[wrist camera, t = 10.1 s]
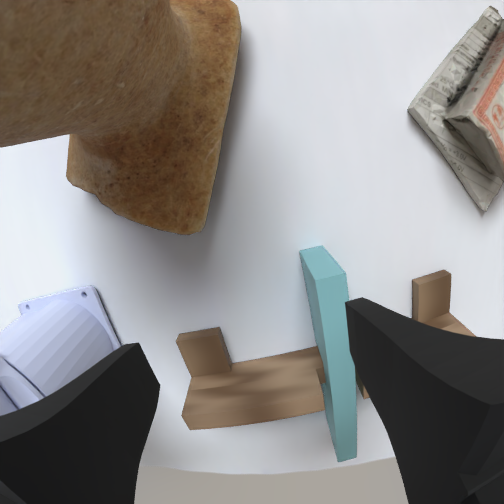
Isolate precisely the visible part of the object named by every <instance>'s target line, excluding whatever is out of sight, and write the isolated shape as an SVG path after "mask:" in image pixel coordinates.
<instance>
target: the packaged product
mask: <svg viewBox="0 0 504 504" xmlns="http://www.w3.org/2000/svg"><path fill="white" fill-rule="evenodd" d="M407 110H408V112H409V113H410V114H411V116H412V117H413V118H414V119H415V120H416V121H417V123H418V124H419V125H420V126H421V127H422V129H423V130H424V131H425V132H426V134H427V135H428V136H429V137H430V139H431V140H432V141H433V142H434V144H435V145H436V146H437V147H438V149H439V150H440V152H441V153H442V154H443V156H444V157H445V159H446V160H447V162H448V163H449V164H450V166H451V167H452V169H453V170H454V172H455V173H456V175H457V176H458V178H459V179H460V181H461V182H462V184H463V185H464V187H465V189H466V190H467V192H468V193H469V195H470V196H471V197H472V199H473V200H474V201H475V203H476V204H477V205H478V207H479V208H480V209H482V210H484V211H487V209H488V206H489V204H490V203H491V201H492V199H493V198H494V196H496V195H497V193H498V191H499V189H500V188H501V186H502V184H503V182H504V19H502V17H501V16H500V15H499V13H498V10H496V9H495V8H494V7H492V6H489V7H488V8H487V9H486V10H485V11H484V12H483V14H482V15H481V17H480V18H479V20H478V21H477V22H476V23H475V24H474V25H473V26H472V27H471V28H470V29H469V30H468V31H467V32H466V34H465V35H464V36H463V37H462V39H461V40H460V41H459V42H458V43H457V44H456V46H455V47H454V48H453V49H452V50H451V51H450V53H449V54H448V55H447V56H446V58H445V59H444V60H443V61H442V63H441V64H440V65H439V66H438V68H437V69H436V70H435V72H434V73H433V74H432V76H431V77H430V78H429V79H428V81H427V82H426V83H425V85H424V86H423V87H422V88H421V90H420V91H419V92H418V94H417V95H416V97H415V98H414V99H413V101H412V102H411V104H410V106H409V107H408V109H407Z"/></svg>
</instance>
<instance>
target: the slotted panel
mask: <svg viewBox="0 0 504 504" xmlns="http://www.w3.org/2000/svg"><path fill="white" fill-rule="evenodd" d="M299 252H300V257H301V262H302V267H303V272H304V278H305V283H306V288H307V294H308V299H309V305H310V310H311V316H312V322H313V328H314V334H315V340H316V343H317V346H318V349H319V352H320V355H321V358H322V361H323V366H324V373H325V380H326V383H323V384H322V385H323V393H324V400H325V407H326V415H327V421H328V425H329V429H330V433H331V437H332V441H333V445H334V449H335V453H336V457H337V461H338V462H342V461H345V460H349V459H353V458H356V456H357V409H356V380H355V365H354V362H353V360H352V357H351V354H350V350H349V338H348V328H347V318H346V309H345V302H347V301H349V295H348V287H347V279H346V273H345V271H344V270H343V269H342V268H341V267H340V265H339V264H338V263H337V262H336V261H335V260H334V258H333V257H332V256H331V255H330V254H329V252H328V251H327V250H326V249H325V248H324V247H323V246H318V247H314V248H310V249H305V250H301V251H299Z"/></svg>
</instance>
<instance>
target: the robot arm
mask: <svg viewBox="0 0 504 504" xmlns="http://www.w3.org/2000/svg"><path fill="white" fill-rule="evenodd" d="M84 292H86V294H87V296H86V295H85V294H84ZM18 308H19V310H20V313H21V316H20V317H18V318H17V319H16V320H15V321H13V322H12V323H11V324H9V325H8V326H7V327H6V328H5V329H3V330H2V331H1V332H0V504H134V498H135V489H136V481H137V475H138V468H139V463H140V459H141V456H142V452H143V449H144V446H145V443H146V440H147V437H148V434H149V431H150V428H151V425H152V421H153V418H154V415H155V412H156V409H157V403H158V398H159V391H160V384H159V382H158V380H157V378H156V376H155V374H154V373H153V371H152V369H151V367H150V365H149V363H148V361H147V358H146V356H145V354H144V352H143V350H142V348H141V346H140V344H139V343H132V344H125V345H123V346H121V345H120V343H119V341H118V339H117V337H116V335H115V333H114V330H113V328H112V326H111V324H110V322H109V319H108V317H107V315H106V313H105V310H104V308H103V305H102V303H101V301H100V298H99V296H98V293H97V291H96V289H95V288H94V287H93V286H85V287H81V288H76V289H72V290H68V291H64V292H60V293H56V294H51V295H47V296H43V297H39V298H35V299H31V300H27V301H22V302H20V303H19V304H18ZM345 309H346V318H347V328H348V338H349V350H350V354H351V357H352V360H353V362H354V365H355V368H356V370H357V373H358V375H359V377H360V379H361V381H362V383H363V385H364V387H365V389H366V391H367V393H368V395H369V397H370V399H371V400H372V402H373V404H374V406H375V408H376V410H377V412H378V414H379V416H380V418H381V420H382V422H383V424H384V426H385V428H386V431H387V433H388V436H389V439H390V441H391V444H392V447H393V450H394V453H395V456H396V459H397V463H398V465H399V469H400V473H401V476H402V479H403V483H404V487H405V491H406V495H407V499H408V503H409V504H504V340H503V339H490V338H482V337H475V336H469V335H463V334H459V333H454V332H451V331H447V330H443V329H439V328H436V327H432V326H429V325H427V324H424V323H421V322H418V321H416V320H413V319H410V318H408V317H406V316H403V315H401V314H399V313H396V312H394V311H392V310H390V309H387V308H385V307H383V306H381V305H379V304H377V303H375V302H372V301H370V300H368V299H365V298H363V297H362V298H358V299H354V300H350V301H347V302H345Z"/></svg>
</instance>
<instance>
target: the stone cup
mask: <svg viewBox="0 0 504 504" xmlns="http://www.w3.org/2000/svg"><path fill="white" fill-rule="evenodd" d="M240 38H241V22H240V16H239V11H238V7H237V5H236V4H235V3H234V2H232V1H231V0H0V147H6V146H12V145H17V144H22V143H27V142H32V141H37V140H42V139H47V138H53V137H57V136H61V135H67V134H70V139H69V148H68V160H67V172H66V177H67V179H68V181H69V182H70V183H71V184H72V185H73V186H76V187H79V188H81V189H82V190H84V191H86V192H89V193H93V194H95V195H96V196H97V197H98V199H99V200H100V202H101V203H102V204H104V205H105V206H107V207H109V208H110V209H111V210H112V211H113V212H114V213H115V214H117V215H120V216H123V217H125V218H127V219H129V220H132V221H134V222H137V223H140V224H143V225H146V226H149V227H152V228H155V229H158V230H163V231H168V232H172V233H177V234H181V235H190V234H193V233H195V232H201V231H202V229H203V228H204V226H205V222H206V218H207V213H208V209H209V204H210V199H211V194H212V188H213V184H214V181H215V176H216V171H217V166H218V161H219V155H220V150H221V142H222V135H223V129H224V125H225V120H226V116H227V112H228V107H229V102H230V96H231V91H232V86H233V81H234V75H235V68H236V62H237V56H238V50H239V44H240Z"/></svg>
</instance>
